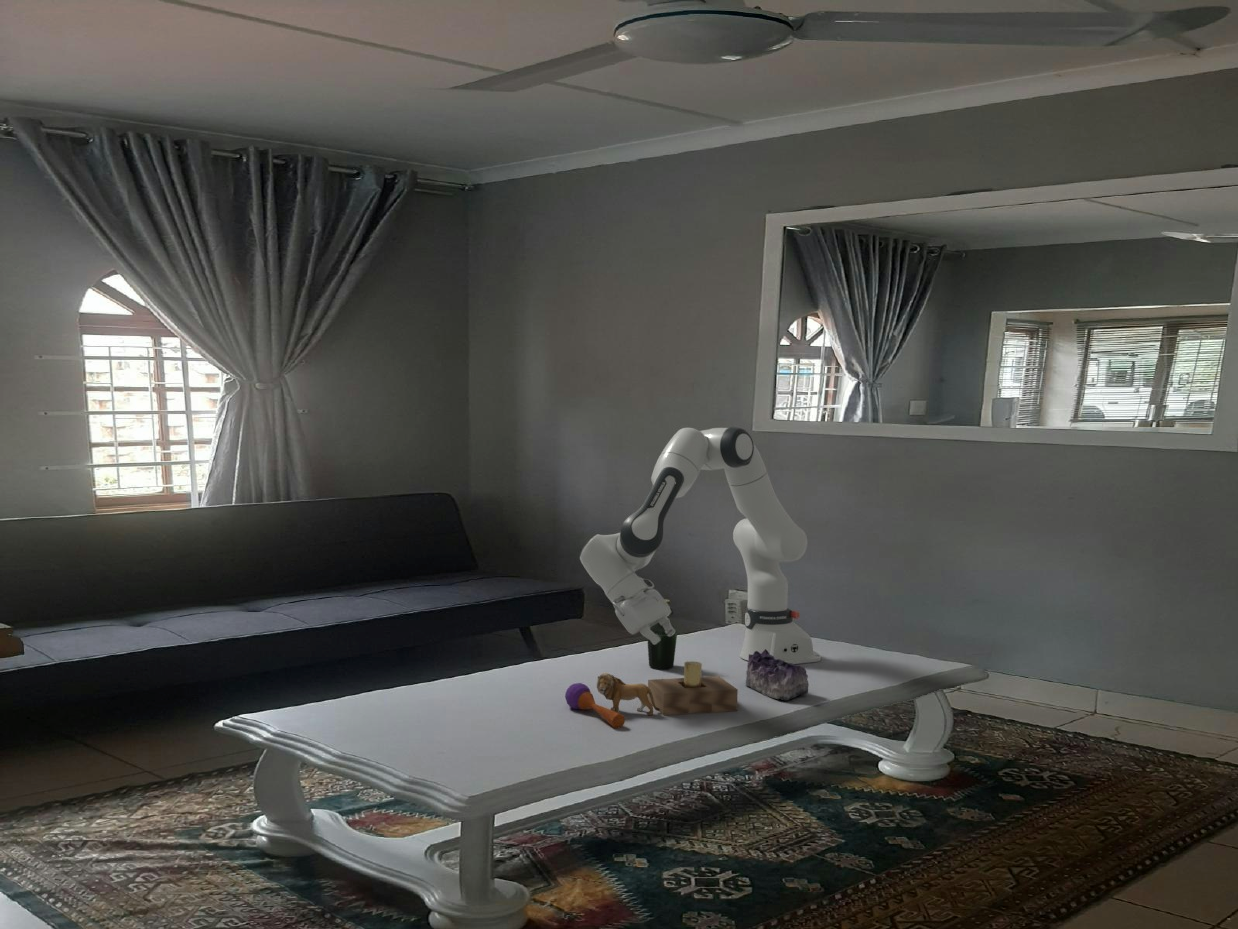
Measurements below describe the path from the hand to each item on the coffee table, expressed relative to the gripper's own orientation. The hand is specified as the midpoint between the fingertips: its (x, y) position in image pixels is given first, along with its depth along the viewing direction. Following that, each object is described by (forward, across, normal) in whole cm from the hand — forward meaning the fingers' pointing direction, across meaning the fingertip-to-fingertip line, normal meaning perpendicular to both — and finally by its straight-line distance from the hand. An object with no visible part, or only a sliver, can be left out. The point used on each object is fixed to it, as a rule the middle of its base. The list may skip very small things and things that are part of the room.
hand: (665, 638), depth 254 cm
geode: (+25, +22, -3) cm, 34 cm away
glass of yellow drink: (+16, 0, +6) cm, 17 cm away
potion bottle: (+2, +30, +20) cm, 36 cm away
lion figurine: (+8, -13, +14) cm, 20 cm away
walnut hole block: (+16, 0, +6) cm, 17 cm away
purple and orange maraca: (+4, -18, +18) cm, 26 cm away
